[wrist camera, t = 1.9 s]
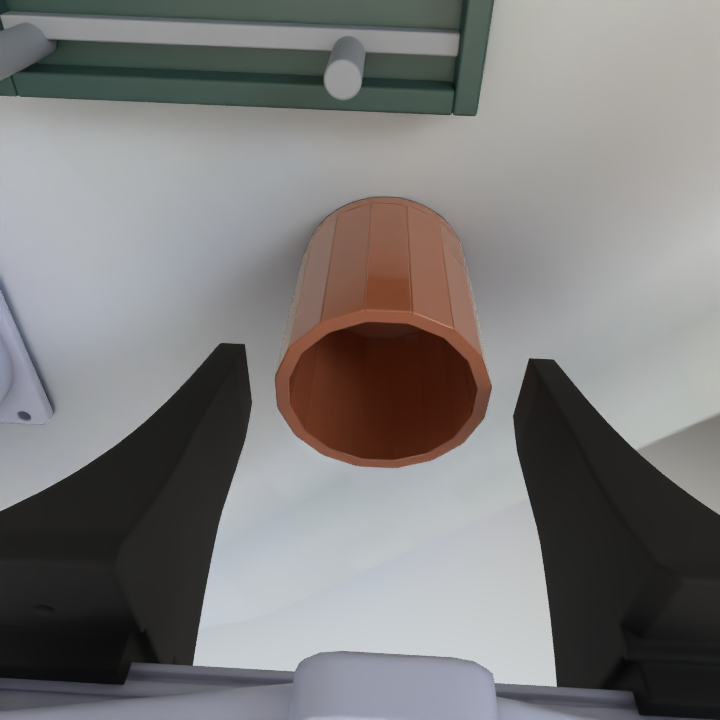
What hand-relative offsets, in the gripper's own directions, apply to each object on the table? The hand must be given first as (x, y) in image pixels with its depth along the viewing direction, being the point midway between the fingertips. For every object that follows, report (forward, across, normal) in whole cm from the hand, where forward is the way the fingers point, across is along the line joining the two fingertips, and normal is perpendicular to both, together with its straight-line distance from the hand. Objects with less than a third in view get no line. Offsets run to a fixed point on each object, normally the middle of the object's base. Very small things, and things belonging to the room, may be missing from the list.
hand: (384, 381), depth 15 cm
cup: (+5, 0, 0) cm, 5 cm away
